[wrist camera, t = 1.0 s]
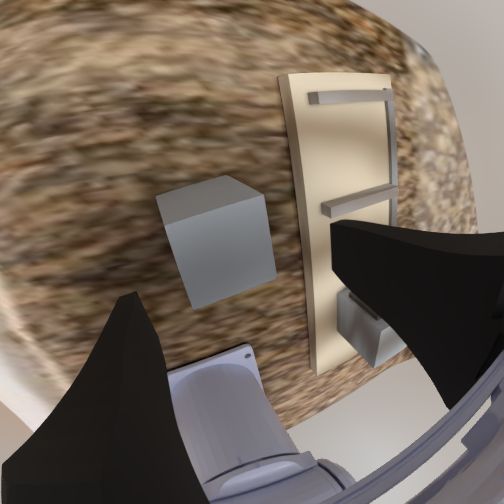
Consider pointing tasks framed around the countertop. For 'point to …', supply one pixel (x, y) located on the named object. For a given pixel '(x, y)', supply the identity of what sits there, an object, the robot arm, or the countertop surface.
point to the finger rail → (341, 200)
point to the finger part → (218, 238)
